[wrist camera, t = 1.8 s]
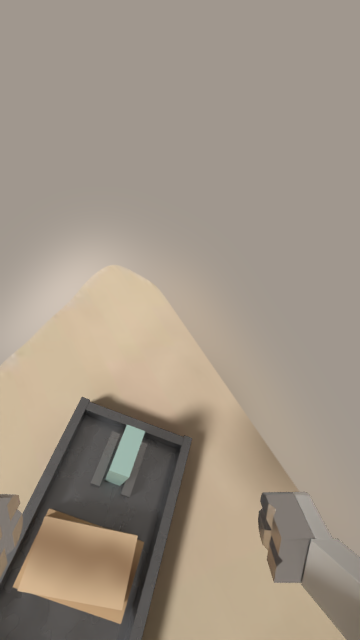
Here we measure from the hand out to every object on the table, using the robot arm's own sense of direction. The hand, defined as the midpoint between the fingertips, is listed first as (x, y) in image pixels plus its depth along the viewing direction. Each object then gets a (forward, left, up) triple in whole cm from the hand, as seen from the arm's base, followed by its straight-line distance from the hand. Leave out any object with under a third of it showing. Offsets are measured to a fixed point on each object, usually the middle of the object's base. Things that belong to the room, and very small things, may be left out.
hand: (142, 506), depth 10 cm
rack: (-1, +1, -28) cm, 28 cm away
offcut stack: (-4, +1, -27) cm, 27 cm away
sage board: (+5, +1, -27) cm, 27 cm away
